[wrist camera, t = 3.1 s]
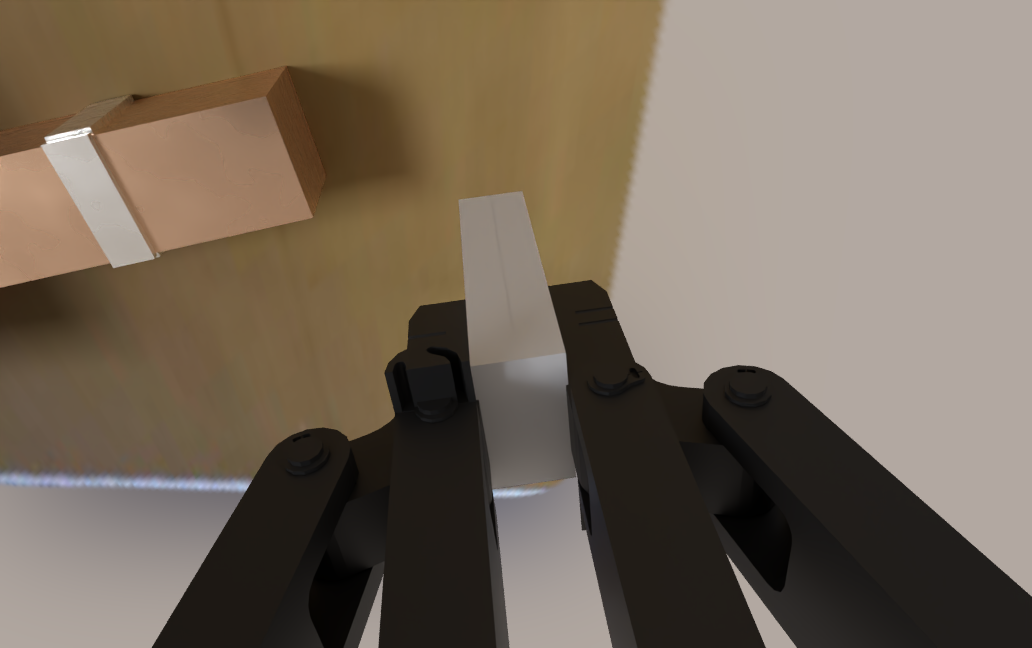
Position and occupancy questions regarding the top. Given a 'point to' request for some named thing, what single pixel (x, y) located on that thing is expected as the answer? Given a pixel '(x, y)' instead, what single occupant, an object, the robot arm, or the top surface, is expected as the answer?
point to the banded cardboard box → (154, 175)
